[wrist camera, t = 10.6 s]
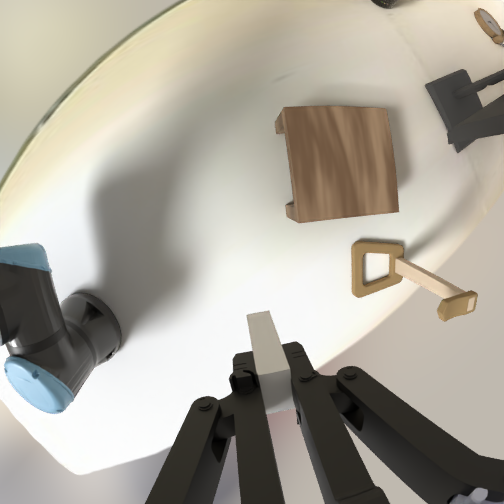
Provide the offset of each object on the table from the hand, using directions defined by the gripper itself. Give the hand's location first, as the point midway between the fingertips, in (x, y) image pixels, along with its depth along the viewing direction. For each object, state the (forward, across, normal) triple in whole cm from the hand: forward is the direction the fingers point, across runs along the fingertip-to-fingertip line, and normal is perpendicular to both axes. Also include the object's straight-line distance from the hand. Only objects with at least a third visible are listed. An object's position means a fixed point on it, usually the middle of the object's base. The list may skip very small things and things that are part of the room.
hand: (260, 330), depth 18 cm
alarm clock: (+27, -88, -57) cm, 109 cm away
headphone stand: (+28, -24, +8) cm, 38 cm away
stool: (+24, -9, -12) cm, 28 cm away
